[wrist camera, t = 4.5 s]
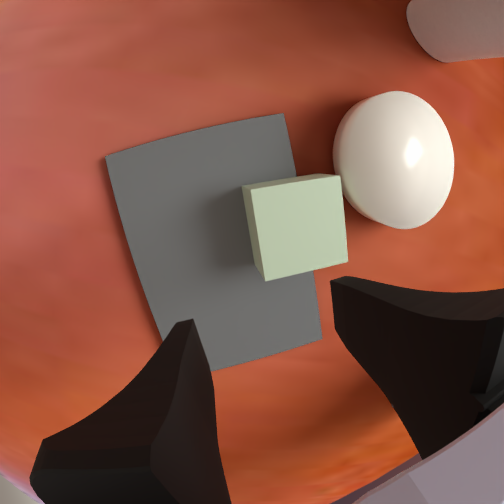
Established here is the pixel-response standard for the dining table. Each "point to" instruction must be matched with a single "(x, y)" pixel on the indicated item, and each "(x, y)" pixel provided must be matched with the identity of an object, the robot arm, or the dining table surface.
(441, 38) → the coffee cup
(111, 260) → the dining table surface
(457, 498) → the robot arm
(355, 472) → the dining table surface
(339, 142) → the white shallow dome
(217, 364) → the mat
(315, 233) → the pale green square block
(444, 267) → the dining table surface
